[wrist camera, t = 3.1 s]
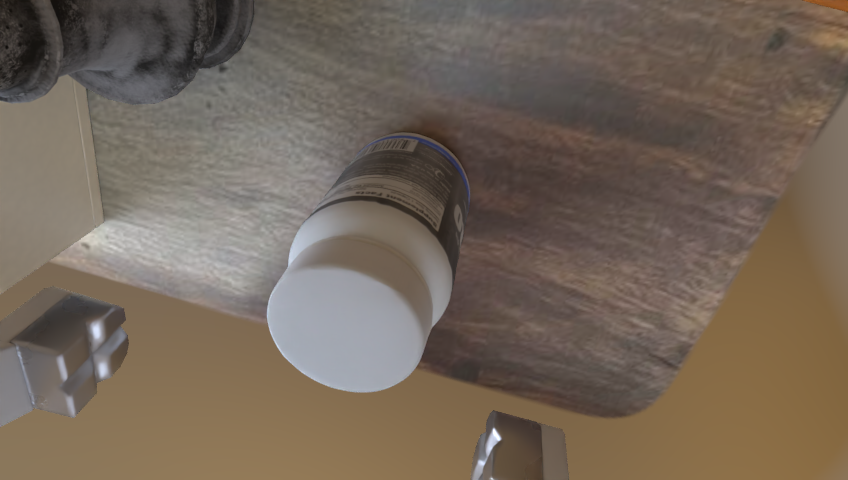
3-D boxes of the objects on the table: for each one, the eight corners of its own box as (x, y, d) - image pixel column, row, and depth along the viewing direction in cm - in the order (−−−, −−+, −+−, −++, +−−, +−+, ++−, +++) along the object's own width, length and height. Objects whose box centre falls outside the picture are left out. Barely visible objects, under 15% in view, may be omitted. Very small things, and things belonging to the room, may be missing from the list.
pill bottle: (443, 260, 21) (400, 429, 14) (335, 215, 21) (235, 363, 14) (493, 160, 19) (471, 304, 11) (370, 107, 18) (270, 220, 11)
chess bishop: (290, -45, 16) (-108, -2, 6) (228, 108, 19) (-108, 308, 9) (116, -166, 15) (-688, -352, 5) (80, 14, 18) (-474, 119, 8)
